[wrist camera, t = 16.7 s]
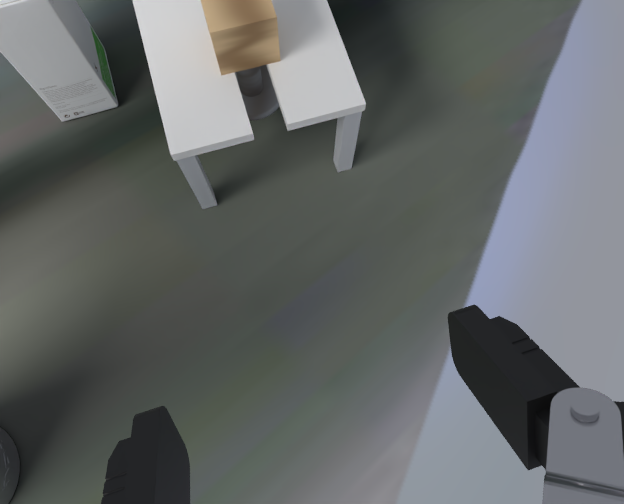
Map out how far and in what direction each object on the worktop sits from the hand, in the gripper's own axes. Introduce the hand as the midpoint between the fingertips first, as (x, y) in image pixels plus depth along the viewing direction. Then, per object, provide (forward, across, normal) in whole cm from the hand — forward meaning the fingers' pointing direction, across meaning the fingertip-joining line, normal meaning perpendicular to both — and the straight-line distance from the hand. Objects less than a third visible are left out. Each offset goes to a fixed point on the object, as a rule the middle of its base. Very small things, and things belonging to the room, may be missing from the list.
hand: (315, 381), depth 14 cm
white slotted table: (+45, -3, +2) cm, 45 cm away
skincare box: (+51, +14, -4) cm, 53 cm away
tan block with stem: (+40, -3, 0) cm, 40 cm away
